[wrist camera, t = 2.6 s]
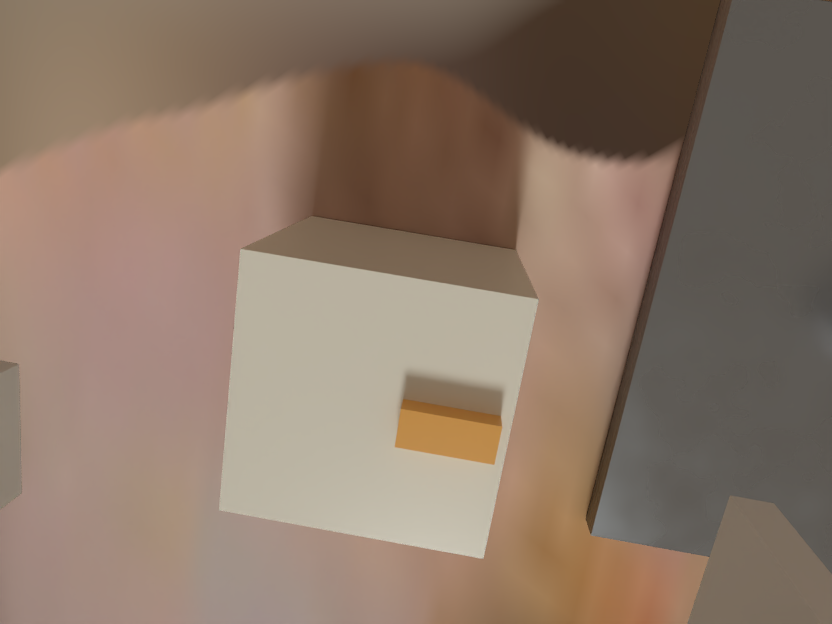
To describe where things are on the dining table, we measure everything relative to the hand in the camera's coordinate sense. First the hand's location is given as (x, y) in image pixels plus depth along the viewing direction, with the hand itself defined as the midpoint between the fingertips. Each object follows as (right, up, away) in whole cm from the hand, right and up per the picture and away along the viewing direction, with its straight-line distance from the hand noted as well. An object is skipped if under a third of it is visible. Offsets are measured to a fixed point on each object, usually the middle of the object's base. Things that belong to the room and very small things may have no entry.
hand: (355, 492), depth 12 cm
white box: (0, +3, +11) cm, 11 cm away
